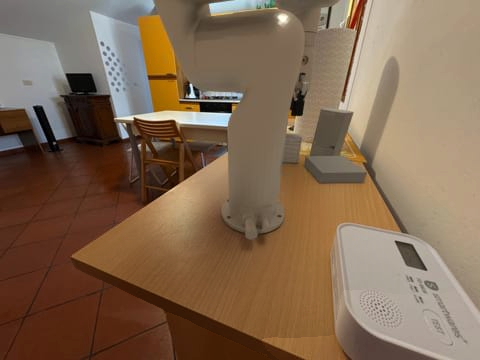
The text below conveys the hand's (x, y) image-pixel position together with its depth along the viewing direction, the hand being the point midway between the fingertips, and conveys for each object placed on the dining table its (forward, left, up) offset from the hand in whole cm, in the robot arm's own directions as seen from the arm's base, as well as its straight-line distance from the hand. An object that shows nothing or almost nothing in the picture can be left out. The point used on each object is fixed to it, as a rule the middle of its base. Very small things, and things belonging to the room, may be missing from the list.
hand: (291, 112), depth 58 cm
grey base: (-11, -11, -15) cm, 21 cm away
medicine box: (-1, 0, -15) cm, 15 cm away
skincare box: (+3, -15, -15) cm, 22 cm away
